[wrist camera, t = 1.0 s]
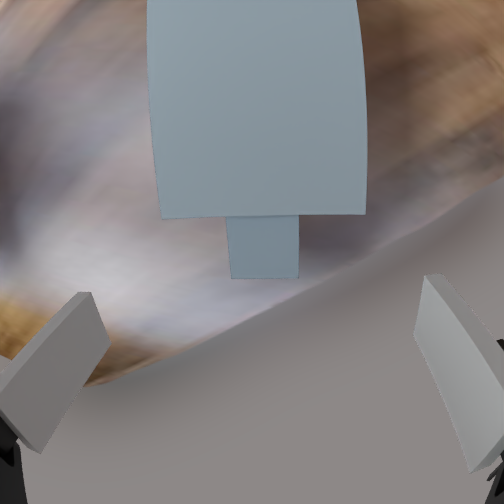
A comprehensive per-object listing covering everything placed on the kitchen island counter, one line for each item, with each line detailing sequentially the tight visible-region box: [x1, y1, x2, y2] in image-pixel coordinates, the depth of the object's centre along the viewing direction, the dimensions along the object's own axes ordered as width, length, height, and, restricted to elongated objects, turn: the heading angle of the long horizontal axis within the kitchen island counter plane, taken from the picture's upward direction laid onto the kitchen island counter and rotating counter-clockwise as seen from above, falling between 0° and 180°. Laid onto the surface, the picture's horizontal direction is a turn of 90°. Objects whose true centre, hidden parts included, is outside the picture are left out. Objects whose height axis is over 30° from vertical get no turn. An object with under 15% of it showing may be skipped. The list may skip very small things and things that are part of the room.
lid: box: [147, 0, 367, 279], centre depth 18 cm, size 14×26×4 cm, turn 3°
